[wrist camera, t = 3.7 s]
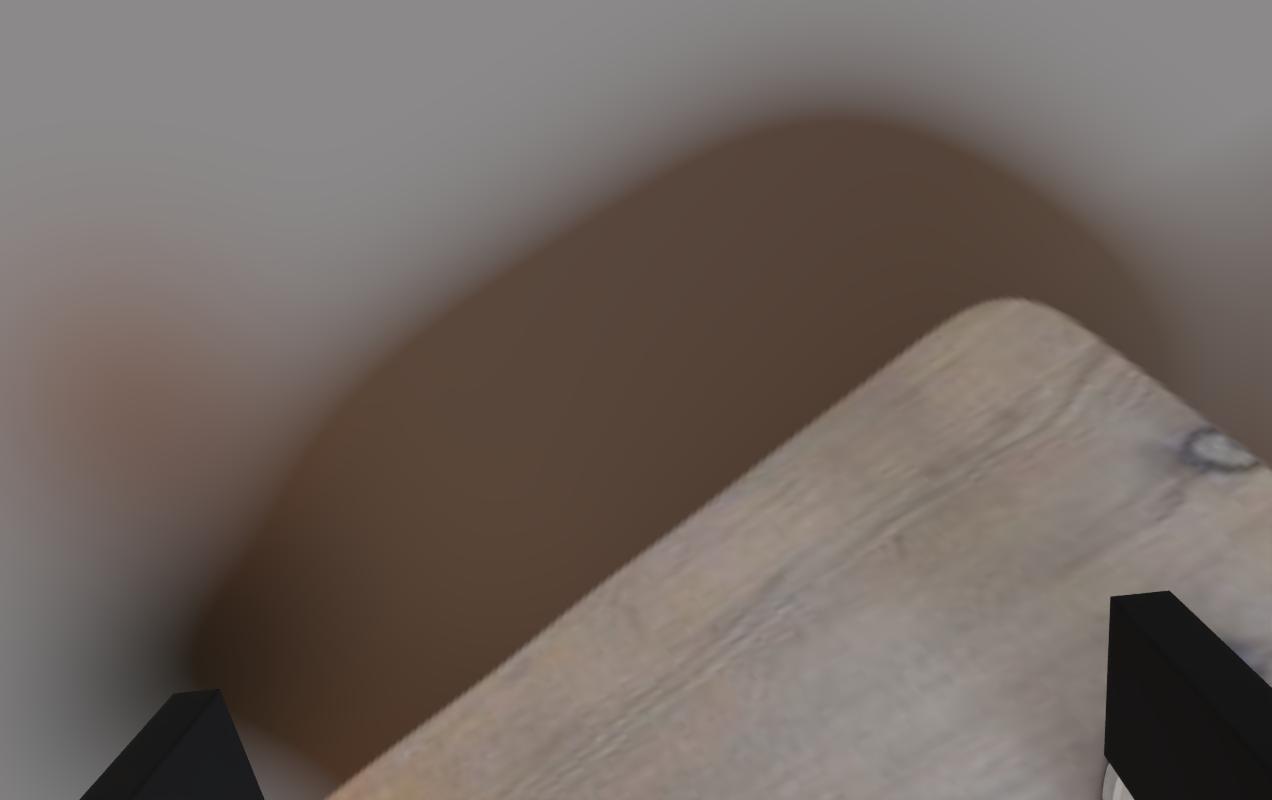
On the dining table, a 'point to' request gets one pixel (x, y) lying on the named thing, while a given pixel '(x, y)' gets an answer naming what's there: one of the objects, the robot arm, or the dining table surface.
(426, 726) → the dining table surface
